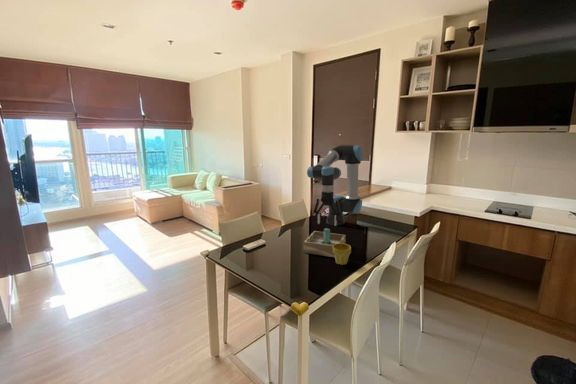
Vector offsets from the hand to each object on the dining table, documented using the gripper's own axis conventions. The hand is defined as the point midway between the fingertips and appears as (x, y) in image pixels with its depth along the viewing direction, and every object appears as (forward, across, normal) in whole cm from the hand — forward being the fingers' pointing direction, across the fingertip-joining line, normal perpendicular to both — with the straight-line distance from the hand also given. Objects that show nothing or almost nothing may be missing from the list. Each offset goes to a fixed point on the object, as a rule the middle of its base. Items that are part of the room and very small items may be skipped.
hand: (327, 224), depth 179 cm
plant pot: (+15, +14, -20) cm, 29 cm away
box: (+15, 0, -4) cm, 16 cm away
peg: (+15, 0, -1) cm, 15 cm away
